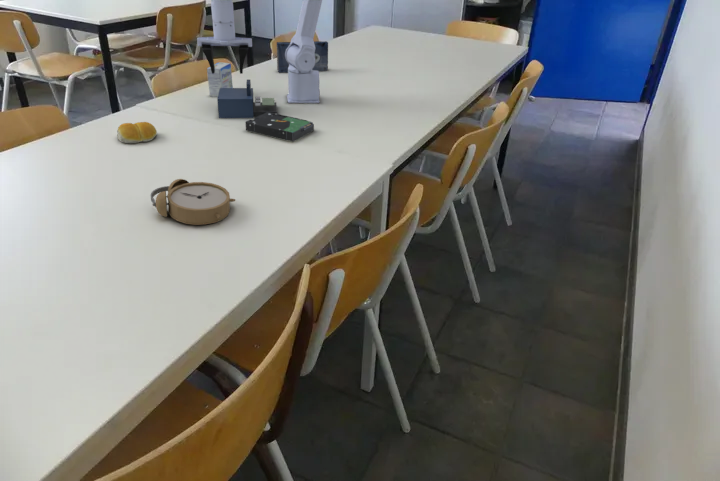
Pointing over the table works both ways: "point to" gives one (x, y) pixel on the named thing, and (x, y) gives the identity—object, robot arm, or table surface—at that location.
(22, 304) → the table surface
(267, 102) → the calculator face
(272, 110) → the control panel
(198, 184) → the alarm clock
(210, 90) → the medicine box
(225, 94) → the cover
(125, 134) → the bread roll
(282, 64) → the vhs cassette tape
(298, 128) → the disk drive
